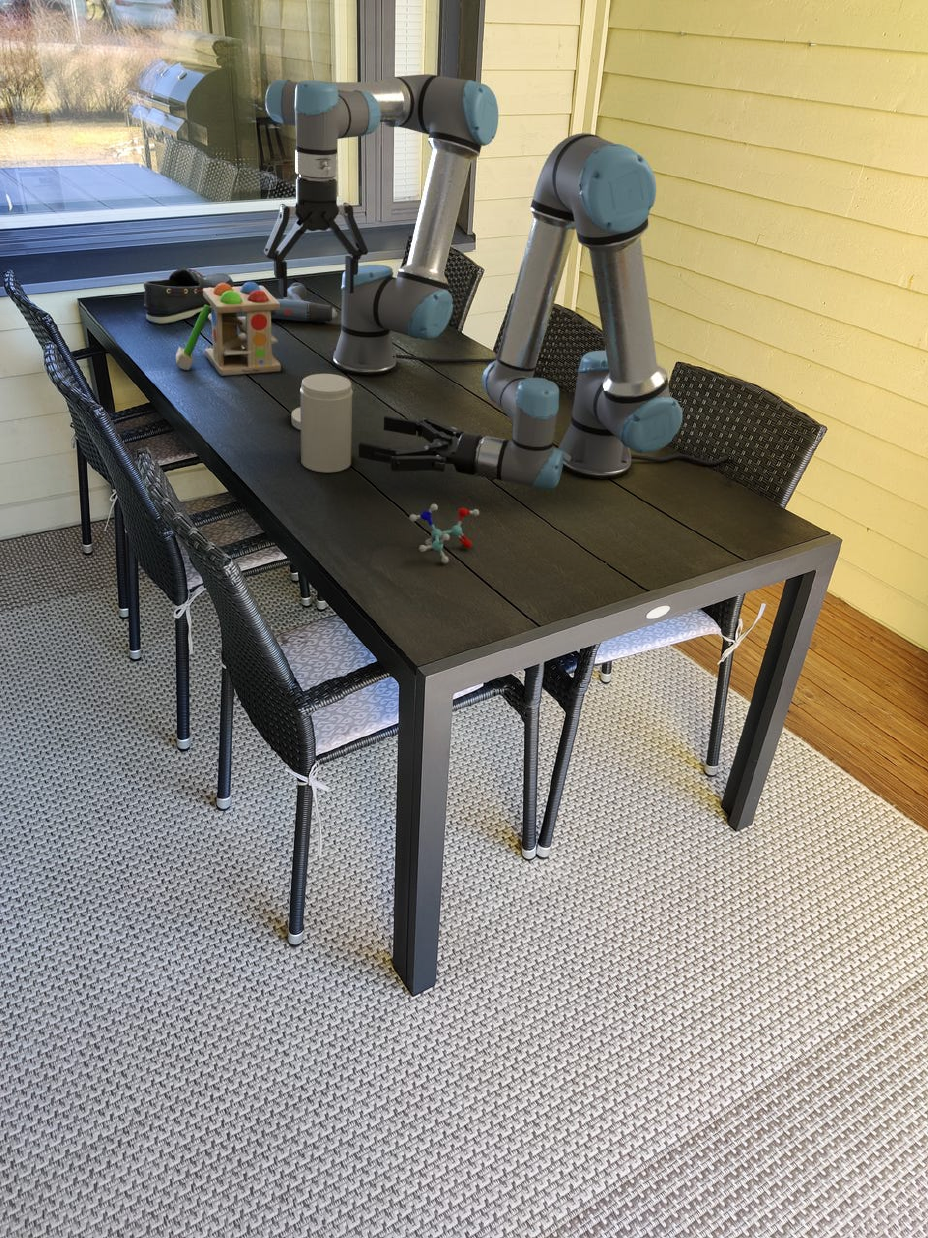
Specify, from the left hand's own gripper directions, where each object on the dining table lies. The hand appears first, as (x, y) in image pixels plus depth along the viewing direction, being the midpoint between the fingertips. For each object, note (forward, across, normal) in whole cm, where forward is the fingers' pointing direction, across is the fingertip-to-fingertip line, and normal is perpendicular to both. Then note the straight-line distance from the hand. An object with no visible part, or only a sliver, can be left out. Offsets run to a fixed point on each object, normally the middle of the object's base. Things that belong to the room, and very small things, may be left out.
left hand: (316, 293), depth 192 cm
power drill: (+27, +22, +70) cm, 78 cm away
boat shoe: (+27, -6, +81) cm, 85 cm away
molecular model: (+27, +2, -56) cm, 63 cm away
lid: (+26, 0, 0) cm, 26 cm away
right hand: (+20, +2, -25) cm, 32 cm away
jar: (+27, -5, -18) cm, 33 cm away
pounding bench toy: (+27, -9, +37) cm, 47 cm away
